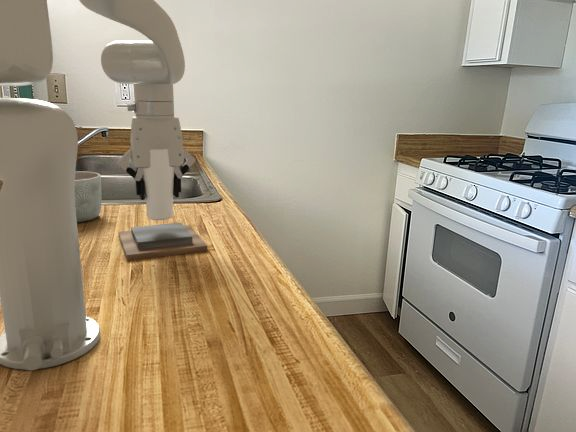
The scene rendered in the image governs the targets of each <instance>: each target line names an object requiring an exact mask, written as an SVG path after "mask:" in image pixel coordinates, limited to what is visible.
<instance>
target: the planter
mask: <svg viewBox="0 0 576 432" xmlns="http://www.w3.org/2000/svg"><path fill="white" fill-rule="evenodd" d="M101 178H102V176H101V174H100V173H98V172H93V171H84V170H83V171H80V170H79V171H75V208H76V220H77V223H82V222H88V221H92V220H93V219H94V220H95V218H97V217H98V216H100V214H101V210H102V182H101V181H102V180H101Z"/></svg>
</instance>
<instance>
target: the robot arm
mask: <svg viewBox="0 0 576 432" xmlns="http://www.w3.org/2000/svg"><path fill="white" fill-rule="evenodd" d="M78 1H79V2H80V4H81V5H83V6H84V8H86V9H87V10H89V11H91V12H93V13H95V14H97V15H100V16H102V17H104V18H107V19H109V20H112V21H113V22H116V23H119V24H121V25H124V26H127V27H129V28H130V29H133V30H135V31H137V32H138V33H140V34H141V35H143V36H145V37H146V38H147V39H148V40H145V39H144V40H141V39H140V40H114V41H111V42H110V43H108V44H106V45H105V47H104V48H103V50H102V52H101V55H100V64H101V67H102V71H103V72H104V74H105V75H106V77H107V78H108V79H109V80H111V81H113V82H115V83H118V84H123V85H133V95H134V96H133V97H134V100H133V101H134V102H132V103H129V104H127V106H126V107H127V112H132V113H134V114H135V116H132V118H131V123H130V126H131V127H130V148H129V149H127V151H126V152H125V153H124V154H123V155H122V156H121V157H120V158H119V159H118V160H117V165H118V166H119V167H120V168H121V169H122V170H123V171H125V173H127V174H128V175H129V176H130V177H131V178H133V179H134V180H135V194H136V196H139V198H140V200H141V201H144V200H145V189H144V181H143V180H142V175H143V173H144V168H149V167H151V165H150V154H151V153H150V150H152V149H167V150H168V156H169V166H170V167H174V188H173V197H175V198H180V193H182V179H183V177H184V175H185V174H186V173H187V172H188V171H189V169H190V168H191V167H192V166H193V164H195V162H196V158H195V157H194V156H193V155H191V154H190V153H189V152H188V151H187V150H186V149H185V148H184V144H183V143H184V142H183V141H184V140H183V134H182V128H181V122H180V119H179V118H180V117H178V116H175V103H174V101H175V100H174V99H175V98H174V85H176V84H177V83H179V82H180V81H181V80H182V79H183V77H184V75H185V71H186V62H185V56H184V55H185V54H184V51H183V47H182V43H181V41H180V37H179V34H178V30H177V29H176V26H175V24H174V22H173V20H172V18H171V17H170V15H169V14H168V13H167V11H166V10H165V9H163V8H162V6H160V4H158V3H157V1H155V0H78ZM48 6H49V5H48V0H0V87H23V86H31V85H32V86H33V85H37V84H39V83H42V82H44V81H45V80H46V79H48V77H49V76H50V75H51V72H52V69H53V63H54V58H53V57H54V55H53V41H52V40H53V39H52V34H51V33H52V31H51V25H50V17H49V8H48ZM78 149H79V139H78V129H77V126H76V124H75V122H74V120H73V118H72V117H71V116H70V115H69V113H68V112H66V111H65V109H63V108H61V107H60V106H58V105H56V104H53V103H51V102H48V101H44V100H41V99H40V100H39V99H33V98H22V97H21V98H18V97H17V98H16V97H14V98H13V97H0V181H2V186H1V189H0V304H1V311H2V313H1V314H2V318H3V325H4V332H3V333H2V334H1V335H0V365H2V366H4V367H7V368H11V369H14V370H25V371H26V370H27V371H36V370H39V369H45V368H46V369H47V368H51V367H55V366H60V365H62V364H66V363H68V362H71V361H73V360H76V359H78V358H80V357H81V356H83V355H85V354H86V353H89V351H90V350H92V349H93V348H94V347H95V346H96V345H97V343H98V342H99V341H100V337H101V331H100V330H101V329H100V325H99V323H98V322H97V321H96V320H94V318H91V317H88V316H87V311H86V302H85V292H84V281H83V280H84V279H83V272H82V262H81V252H80V241H79V232H78V222H77V220H76V208H75V172H76V170H77V169H76V168H77V167H76V166H77V158H78ZM130 160H131V162H132V164H133V165H134V166H135V169H134V168H132V167H131V166H130V165H128V162H129V161H130Z"/></svg>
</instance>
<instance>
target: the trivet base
mask: <svg viewBox="0 0 576 432" xmlns="http://www.w3.org/2000/svg"><path fill="white" fill-rule="evenodd" d="M117 234H118V239H119V241H120V242H119V243H120V245H121V247H122V250H123V254H124V256H125V259H126V261H127V262H128V261H136V260H146V259H153V258H161V257H168V256H169V257H170V256H177V255H187V254H193V253H194V254H195V253H203V252H208V244H207V243H206V242H205V241H204V240H203V239H202V238H201V236H200V235H199V234H198V232H196V230H195V229H194V228H193V227H192V226H191V224H186V225H183V223H182V222H174V223H173V222H172V223H163V224H153V225H152V224H151V225H141V226H131V227H130V230H124V231H118V233H117Z"/></svg>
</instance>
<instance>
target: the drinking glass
mask: <svg viewBox="0 0 576 432" xmlns="http://www.w3.org/2000/svg"><path fill="white" fill-rule="evenodd" d="M150 153H151V154H150V165H151V167H149V168H144V173H143V175H142V180H143V181H144V189H145V199H144V200H145V204H146V216H147V218H148V219H150V220H152V221H166V220H170V219H172V218H173V215H174V207H173V206H174V195H173V188H174V167H170V166H169V156H168V150H167V149H152V150H150Z"/></svg>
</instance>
